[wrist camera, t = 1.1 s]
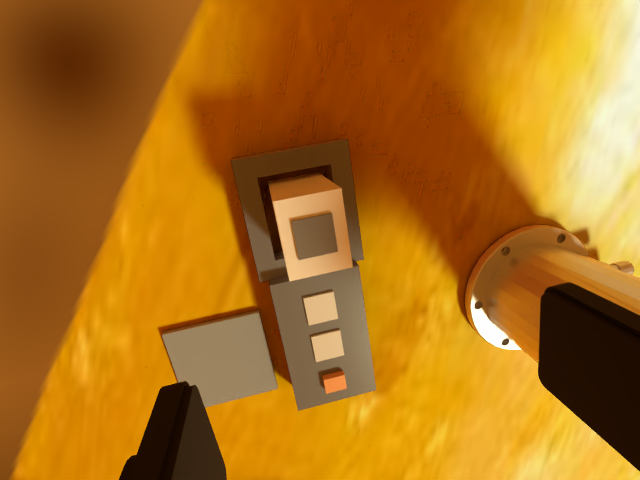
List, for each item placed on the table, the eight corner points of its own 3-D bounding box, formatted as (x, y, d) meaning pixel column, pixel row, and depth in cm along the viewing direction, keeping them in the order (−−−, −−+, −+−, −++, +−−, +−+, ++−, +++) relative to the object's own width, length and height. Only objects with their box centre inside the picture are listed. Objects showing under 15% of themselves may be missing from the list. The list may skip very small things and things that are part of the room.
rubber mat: (258, 309, 31) (258, 312, 30) (277, 385, 33) (277, 388, 33) (163, 331, 30) (161, 335, 29) (189, 407, 32) (188, 411, 32)
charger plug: (318, 172, 28) (342, 188, 20) (328, 232, 30) (353, 268, 22) (267, 181, 28) (272, 202, 20) (280, 242, 29) (289, 282, 22)
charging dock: (341, 138, 28) (353, 140, 24) (373, 366, 34) (386, 392, 31) (232, 158, 27) (229, 162, 23) (287, 388, 33) (290, 418, 30)
